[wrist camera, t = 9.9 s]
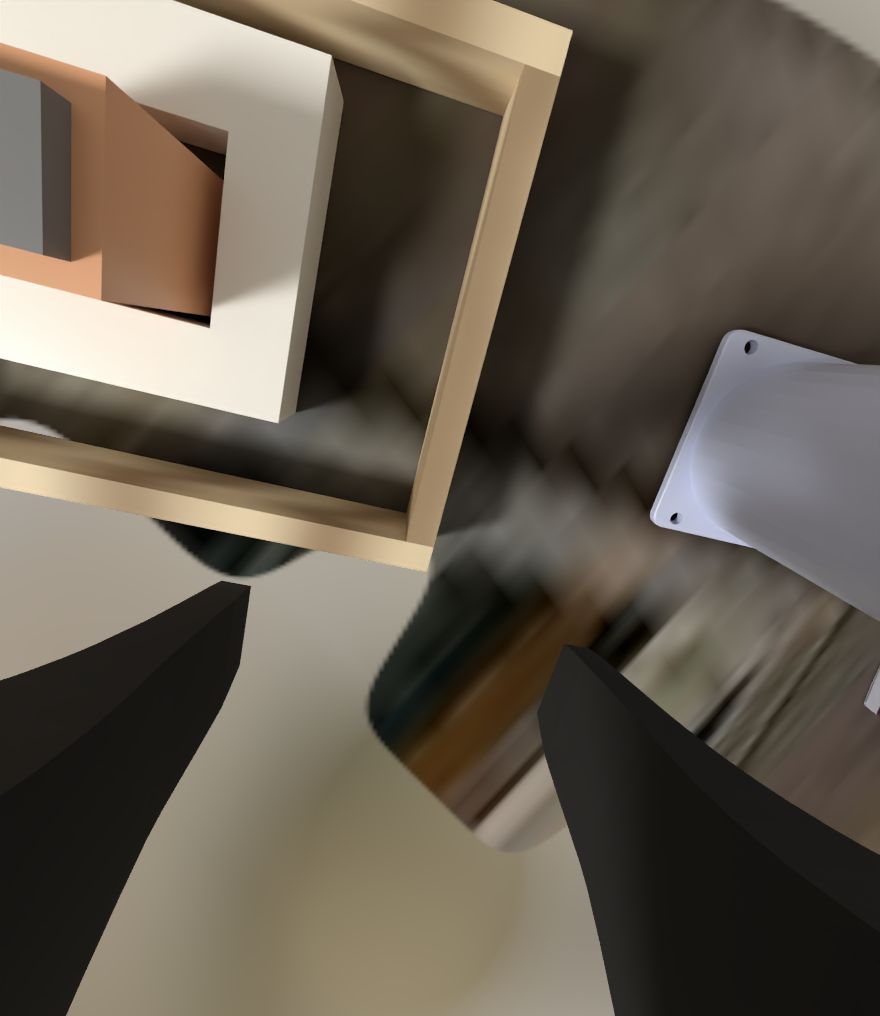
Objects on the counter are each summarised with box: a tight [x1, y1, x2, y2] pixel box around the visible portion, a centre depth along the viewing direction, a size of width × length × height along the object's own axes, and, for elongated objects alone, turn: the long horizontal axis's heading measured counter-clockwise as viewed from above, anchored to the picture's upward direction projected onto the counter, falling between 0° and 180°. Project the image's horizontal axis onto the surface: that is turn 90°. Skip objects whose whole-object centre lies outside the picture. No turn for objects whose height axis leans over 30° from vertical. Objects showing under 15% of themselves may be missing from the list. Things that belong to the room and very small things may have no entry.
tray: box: [0, 0, 573, 572], centre depth 15 cm, size 20×16×3 cm
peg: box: [0, 43, 224, 316], centre depth 12 cm, size 4×4×8 cm
